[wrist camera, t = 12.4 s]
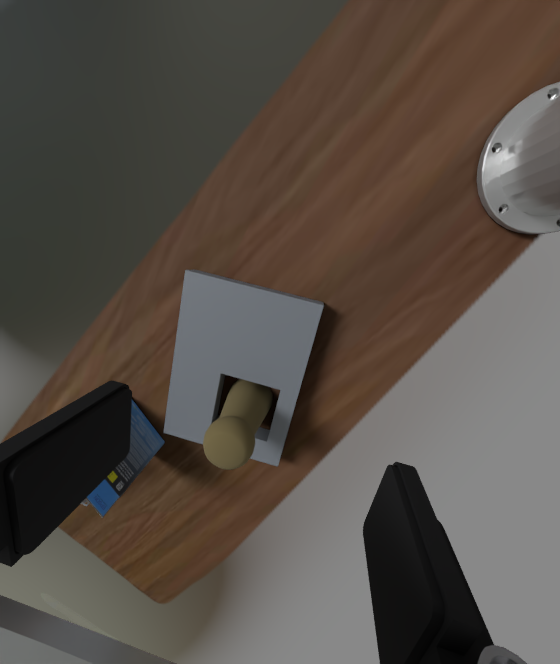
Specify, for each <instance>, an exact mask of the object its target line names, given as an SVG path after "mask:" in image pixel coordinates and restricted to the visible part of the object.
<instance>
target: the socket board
mask: <svg viewBox="0 0 560 664" xmlns="http://www.w3.org/2000/svg"><path fill="white" fill-rule="evenodd" d="M323 306H324V304H323V302H320V301H316V300H312V299H309V298H305V297H301V296H297V295H293V294H289V293H285V292H281V291H277V290H273V289H269V288H265V287H261V286H257V285H254V284H250V283H246V282H242V281H238V280H234V279H230V278H226V277H222V276H218V275H214V274H210V273H206V272H202V271H199V270H185V277H184V284H183V292H182V299H181V306H180V314H179V321H178V329H177V336H176V343H175V351H174V358H173V366H172V373H171V380H170V388H169V395H168V403H167V410H166V417H165V425H164V432H163V433H166V434H169V435H173V436H176V437H180V438H183V439H186V440H190V441H193V442H197V443H200V444H203V440H204V435H205V432H206V431H207V429H208V428H209V426H210V425H211V424H212V423H213V422H214V421H216V420H217V419H218V418H219V417H220V416H219V415H218V410H219V405H220V400H221V395H222V390H223V385H224V380H225V375H229V376H232V377H236V378H239V379H243V380H247V381H250V382H254V383H257V384H261V385H265V386H268V387H272V388H275V389H279V390H280V394H279V398H278V402H277V406H276V409H275V413H274V417H273V421H272V425H271V428H270V430H268V429H264V428H261V427H259V428H258V430H257V432H256V433H255V447H254V451H253V454H252V456H251V457H250V458H251V459H254V460H257V461H261V462H264V463H267V464H271V465H274V466H278V464H279V461H280V457H281V454H282V450H283V447H284V443H285V440H286V436H287V433H288V429H289V426H290V422H291V419H292V415H293V412H294V408H295V405H296V401H297V398H298V394H299V391H300V387H301V384H302V380H303V376H304V373H305V369H306V366H307V362H308V359H309V355H310V352H311V348H312V345H313V341H314V338H315V334H316V331H317V327H318V324H319V320H320V317H321V313H322V310H323Z"/></svg>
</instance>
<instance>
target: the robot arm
mask: <svg viewBox="0 0 560 664" xmlns="http://www.w3.org/2000/svg"><path fill="white" fill-rule="evenodd" d="M492 150H493V152H492ZM477 187H478V194H479V197H480V200H481V202H482V205H483V207H484V208H485V210H486V211H487V213H488V215H489V216H490V217H491V218H492V219H493V220H494V221H495V222H496V223H498V224H499V225H501V226H503V227H504V228H506V229H508V230H511V231H514V232H517V233H523V234H545V233H551V232H556V231H560V82H557V83H554V84H551V85H548V86H546V87H544V88H542V89H540V90H538V91H536V92H534V93H532V94H531V95H530V96H528V97H527V98H526V99H524V100H523V101H521V102H520V103H519V104H518V105H516V106H515V107H514V108H513V109H512V110H511V111H509V112H508V113H507V114H506V115H505V116H504V117H503V118H502V120H501V121H500V122H499V123H498V124H497V125H496V127H495V128H494V130H493V131H492V133H491V134H490V136H489V138H488V139H487V141H486V144H485V146H484V148H483V150H482V153H481V156H480V160H479V164H478V170H477ZM499 209H500V212H499ZM131 408H132V391H131V390H129V386H128V385H126V384H123V383H119V382H116V381H109V382H107V383H105V384H103V385H102V386H100V387H98V388H96V389H95V390H93V391H91V392H90V393H88V394H86V395H84V396H83V397H81V398H79V399H77V400H76V401H74V402H72V403H70V404H69V405H67V406H65V407H64V408H62V409H60V410H58V411H57V412H55V413H53V414H51V415H50V416H48V417H46V418H44V419H43V420H41V421H39V422H37V423H36V424H34V425H32V426H31V427H29V428H27V429H25V430H24V431H22V432H20V433H18V434H17V435H15V436H13V437H11V438H10V439H8V440H6V441H4V442H3V443H1V444H0V563H3V564H6V565H8V566H10V567H12V566H13V565H14V564H15V563H16V562H17V561H18V560H19V559H20V558H21V557H22V556H23V555H26V554H29V553H31V552H32V551H33V550H35V549H36V548H37V547H38V546H39V545H40V544H41V543H42V542H43V541H44V540H45V539H46V538H47V537H48V536H49V535H50V534H51V533H52V532H53V531H54V530H55V529H56V528H57V527H58V526H59V525H60V524H61V523H62V522H63V521H64V520H65V519H66V518H67V517H68V516H69V515H70V514H71V513H72V512H73V511H74V510H75V509H76V508H77V507H78V506H79V505H80V504H81V503H82V502H83V501H84V500H85V499H86V498H87V496H88V495H89V494H90V493H91V492H92V491H93V490H94V489H95V488H96V487H97V486H98V485H99V484H100V483H101V482H102V481H103V480H104V479H105V478H106V477H107V476H108V475H109V474H110V473H111V472H112V471H113V470H114V469H115V468H116V467H117V466H118V465H119V464H120V463H121V462H122V461H123V460H124V459H125V458H126V457H127V455H128V453H129V450H130V434H131ZM363 537H364V544H365V552H366V559H367V568H368V575H369V582H370V590H371V598H372V605H373V613H374V621H375V629H376V636H377V643H378V651H379V659H380V664H527V663H526V662H525V661H523V660H522V659H521V658H520V657H519V656H517V655H516V654H514V653H512V652H511V651H509V650H507V649H506V648H504V647H499V646H495V645H494V644H493V642H492V639H491V637H490V634H489V632H488V630H487V628H486V625H485V623H484V621H483V618H482V616H481V614H480V611H479V609H478V607H477V604H476V602H475V600H474V597H473V595H472V593H471V590H470V588H469V586H468V583H467V581H466V579H465V576H464V574H463V572H462V569H461V567H460V565H459V562H458V560H457V558H456V555H455V553H454V551H453V548H452V546H451V544H450V541H449V539H448V537H447V534H446V533H445V530H444V528H443V526H442V524H441V523H440V522H439V521H438V520H437V518H436V516H435V513H434V511H433V508H432V506H431V504H430V501H429V499H428V497H427V494H426V492H425V490H424V487H423V485H422V483H421V480H420V477H419V475H418V473H417V470H416V469H415V468H414V467H413V466H409V465H406V464H402V463H399V462H395V463H394V464H393V465H388V466H387V468H386V471H385V473H384V476H383V478H382V480H381V483H380V485H379V488H378V490H377V493H376V495H375V497H374V500H373V502H372V505H371V507H370V510H369V512H368V514H367V517H366V519H365V522H364V526H363ZM0 664H176V663H173V662H171V661H168V660H165V659H163V658H160V657H158V656H155V655H153V654H150V653H148V652H145V651H143V650H140V649H138V648H135V647H133V646H130V645H127V644H125V643H122V642H120V641H117V640H115V639H112V638H110V637H107V636H105V635H102V634H99V633H97V632H94V631H92V630H89V629H87V628H84V627H82V626H79V625H77V624H74V623H71V622H69V621H66V620H63V619H61V618H58V617H56V616H53V615H50V614H48V613H45V612H43V611H40V610H37V609H35V608H32V607H30V606H27V605H25V604H22V603H19V602H17V601H14V600H12V599H9V598H7V597H4V596H1V595H0Z"/></svg>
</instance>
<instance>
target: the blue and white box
mask: <svg viewBox="0 0 560 664" xmlns="http://www.w3.org/2000/svg"><path fill="white" fill-rule="evenodd" d="M164 443H165V441H164V440H163V439H162V438H161V436H160V435H159V434H158V432H157V431H156V430H155V429H154V427H153V426H152V425H151V423H150V422H149V421H148V419H147V418H146V417H145V415H144V414H143V413H142V412H141V410H140V409H139V408H138V406H137V405H136V404H135V402H134V401H133V400H132V408H131V434H130V450H129V453H128V455H127V457H126V458H125V459H124V460H123V461H122V462H121V463H120V464H119V465H118V466H117V467H116V468H115V469H114V470H113V471H112V472H111V473H110V474H109V475H108V476H107V477H106V478H105V479H104V480H103V481H102V482H101V483H100V484H99V485H98V486H97V487H96V488H95V489H94V490H93V491H92V492H91V493H90V494H89V495H88V496H87V498H86V499H87V500H88V501H89V502H90V504H91V505H92V506H93V507H94V508H95V510H96V511H97V512H98V513H99V515H100V516H101V517H102V518H103V517H104V515H105V514H106V513H107V512H108V511H109V509H110V508H111V507H112V506H113V505H114V503H115V502H116V501H117V500H118V499H119V498H120V497H121V496H122V494H123V493H124V492H125V491H126V489H127V488H128V487H129V486H130V485H131V483H132V482H133V481H134V479H135V478H136V477H137V476H138V475H139V473H140V472H141V471H142V470H143V469H144V467H145V466H146V465H147V464H148V463H149V461H150V460H151V459H152V458H153V456H154V455H155V454H156V453H157V452H158V451H159V449H160V448H161V447H162V446H163V445H164Z"/></svg>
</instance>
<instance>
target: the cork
mask: <svg viewBox="0 0 560 664" xmlns="http://www.w3.org/2000/svg"><path fill="white" fill-rule="evenodd" d="M272 402H273V397H272V393H271V390H270V388H269V387H268V386H265V385H261V384H257V383H254V382H250V381H247V380H243V379H239V380H237V381H236V382H235V383H233V385H232V387H231V388H230V391H229V393H228V396H227V399H226V401H225V404H224V407H223V409H222V412H221V415H220V417H219V418H218V419H217V420H216V421H214V422H213V423H212V424H211V425H210V426H209V428H208V429H207V431H206V432H205V435H204V440H203V447H204V452H205V455H206V457H207V459H208V460H209V461H210V462H211V463H212V464H214V465H215V466H217V467H219V468H222V469H228V470H232V469H236V468H239V467H241V466H242V465H244V464H245V463H246V462H247V461H248V460H249V458H250V457H251V456H252V454H253V451H254V447H255V433H256V432H257V430H258V428H259V427H260V425H261V423H262V422H263V420H264V418H265V417H266V415H267V413H268V412H269V410H270V408H271V406H272Z"/></svg>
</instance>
